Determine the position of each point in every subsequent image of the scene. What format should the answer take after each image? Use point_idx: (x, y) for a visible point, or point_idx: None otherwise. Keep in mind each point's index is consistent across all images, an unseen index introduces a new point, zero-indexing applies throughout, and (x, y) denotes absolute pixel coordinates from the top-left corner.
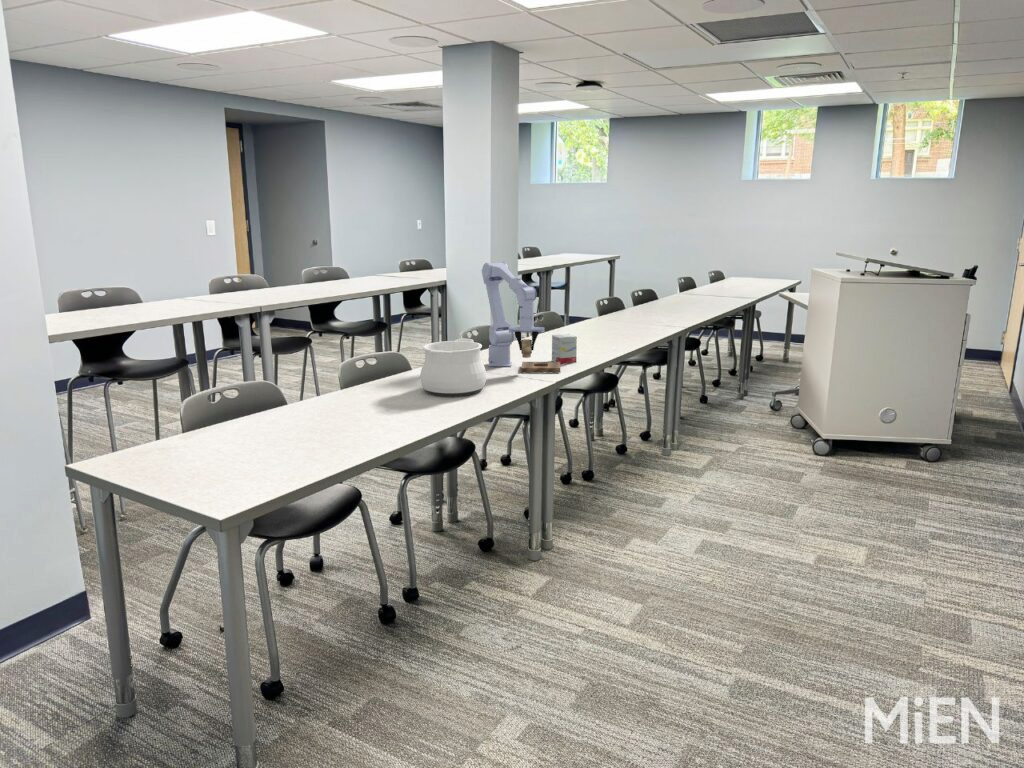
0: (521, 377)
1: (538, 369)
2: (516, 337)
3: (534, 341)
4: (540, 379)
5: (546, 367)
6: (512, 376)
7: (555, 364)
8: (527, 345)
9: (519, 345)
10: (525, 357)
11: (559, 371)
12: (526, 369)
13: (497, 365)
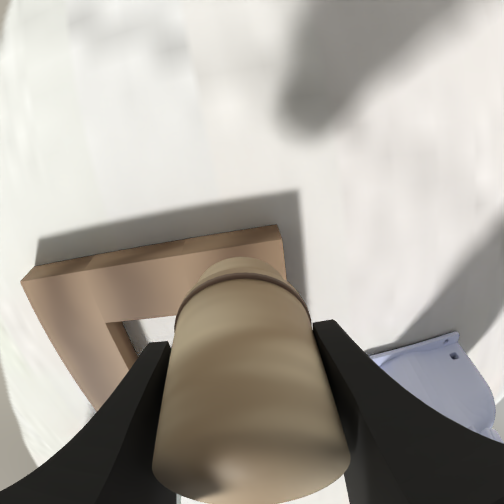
0: (247, 68)
1: (147, 255)
2: (485, 441)
3: (84, 435)
4: (92, 43)
5: (98, 288)
6: (324, 94)
7: (87, 367)
8: (211, 360)
9: (362, 358)
10: (244, 258)
11: (33, 270)
12: (239, 240)
13: (424, 345)
